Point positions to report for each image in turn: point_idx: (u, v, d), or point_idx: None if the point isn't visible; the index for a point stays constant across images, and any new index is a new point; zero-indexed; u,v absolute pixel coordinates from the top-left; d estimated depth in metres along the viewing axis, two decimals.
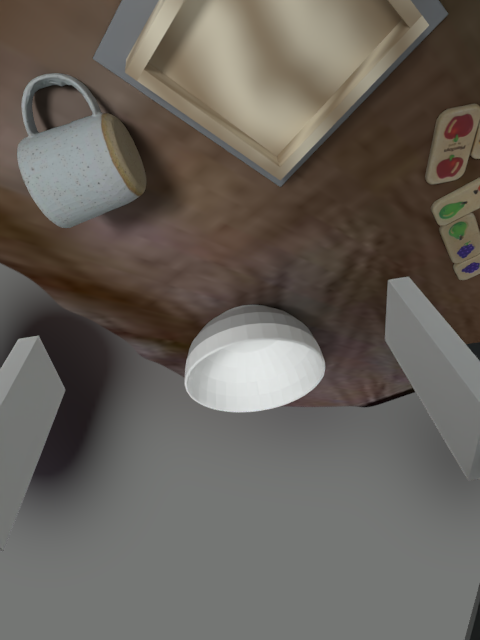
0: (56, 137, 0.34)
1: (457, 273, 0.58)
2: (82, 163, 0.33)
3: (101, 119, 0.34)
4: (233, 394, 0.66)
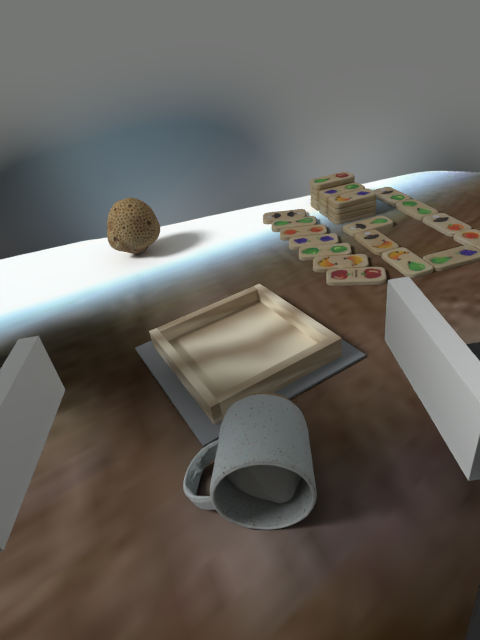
0: None
1: None
2: (231, 420, 0.34)
3: None
4: None
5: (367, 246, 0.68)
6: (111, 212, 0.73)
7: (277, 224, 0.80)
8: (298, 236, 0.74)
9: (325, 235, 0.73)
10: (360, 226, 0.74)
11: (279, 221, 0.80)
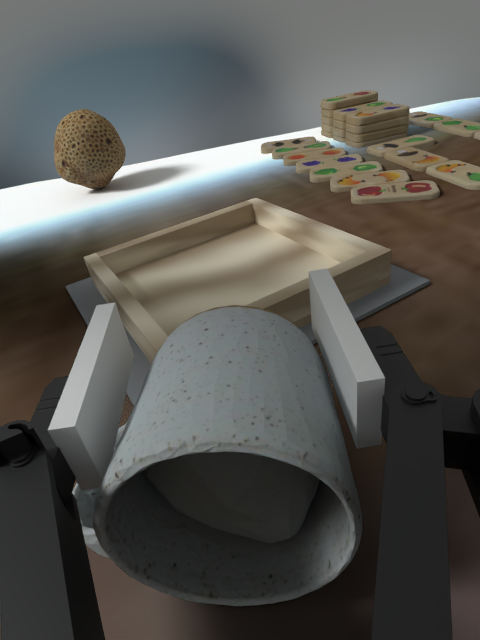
0: None
1: None
2: (162, 357, 0.15)
3: None
4: None
5: (403, 163, 0.50)
6: (58, 127, 0.55)
7: (279, 151, 0.61)
8: (308, 159, 0.55)
9: (344, 156, 0.54)
10: (390, 146, 0.56)
11: (282, 148, 0.62)
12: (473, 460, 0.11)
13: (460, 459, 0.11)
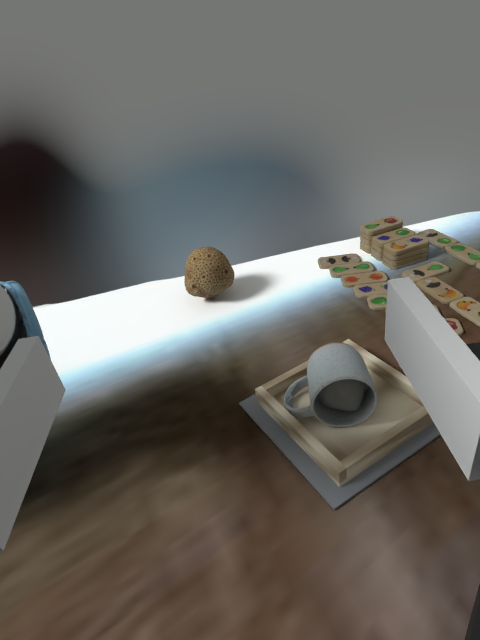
0: (308, 382, 0.52)
1: None
2: (318, 358, 0.52)
3: None
4: None
5: (432, 295, 0.73)
6: (190, 261, 0.78)
7: (335, 270, 0.84)
8: (361, 284, 0.78)
9: None
10: (418, 273, 0.79)
11: (336, 267, 0.85)
12: None
13: None
